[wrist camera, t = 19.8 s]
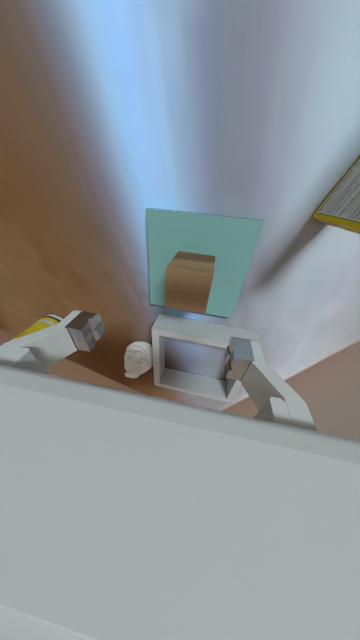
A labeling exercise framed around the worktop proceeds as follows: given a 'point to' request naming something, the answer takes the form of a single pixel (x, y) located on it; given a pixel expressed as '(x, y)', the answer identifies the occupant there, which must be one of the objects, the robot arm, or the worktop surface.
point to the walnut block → (189, 281)
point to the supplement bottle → (41, 325)
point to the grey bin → (197, 334)
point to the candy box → (343, 203)
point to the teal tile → (202, 252)
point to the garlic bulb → (138, 358)
